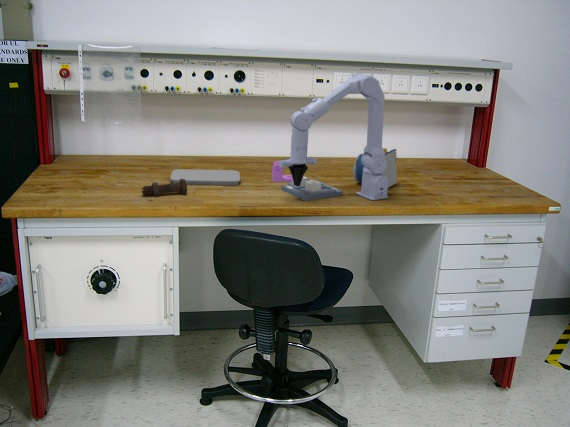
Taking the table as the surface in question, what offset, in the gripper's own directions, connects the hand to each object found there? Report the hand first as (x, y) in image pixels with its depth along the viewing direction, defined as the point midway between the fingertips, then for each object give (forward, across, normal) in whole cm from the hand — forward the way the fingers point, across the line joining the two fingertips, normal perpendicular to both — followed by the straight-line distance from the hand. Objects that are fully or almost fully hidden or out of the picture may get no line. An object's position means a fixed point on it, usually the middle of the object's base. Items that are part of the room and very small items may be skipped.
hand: (296, 185), depth 199 cm
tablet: (+6, +18, -35) cm, 40 cm away
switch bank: (+5, -10, -4) cm, 11 cm away
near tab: (+3, -7, 0) cm, 8 cm away
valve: (+5, -39, -3) cm, 39 cm away
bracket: (+5, -11, -22) cm, 25 cm away
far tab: (+3, -7, -8) cm, 11 cm away
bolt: (+5, +40, -23) cm, 46 cm away
